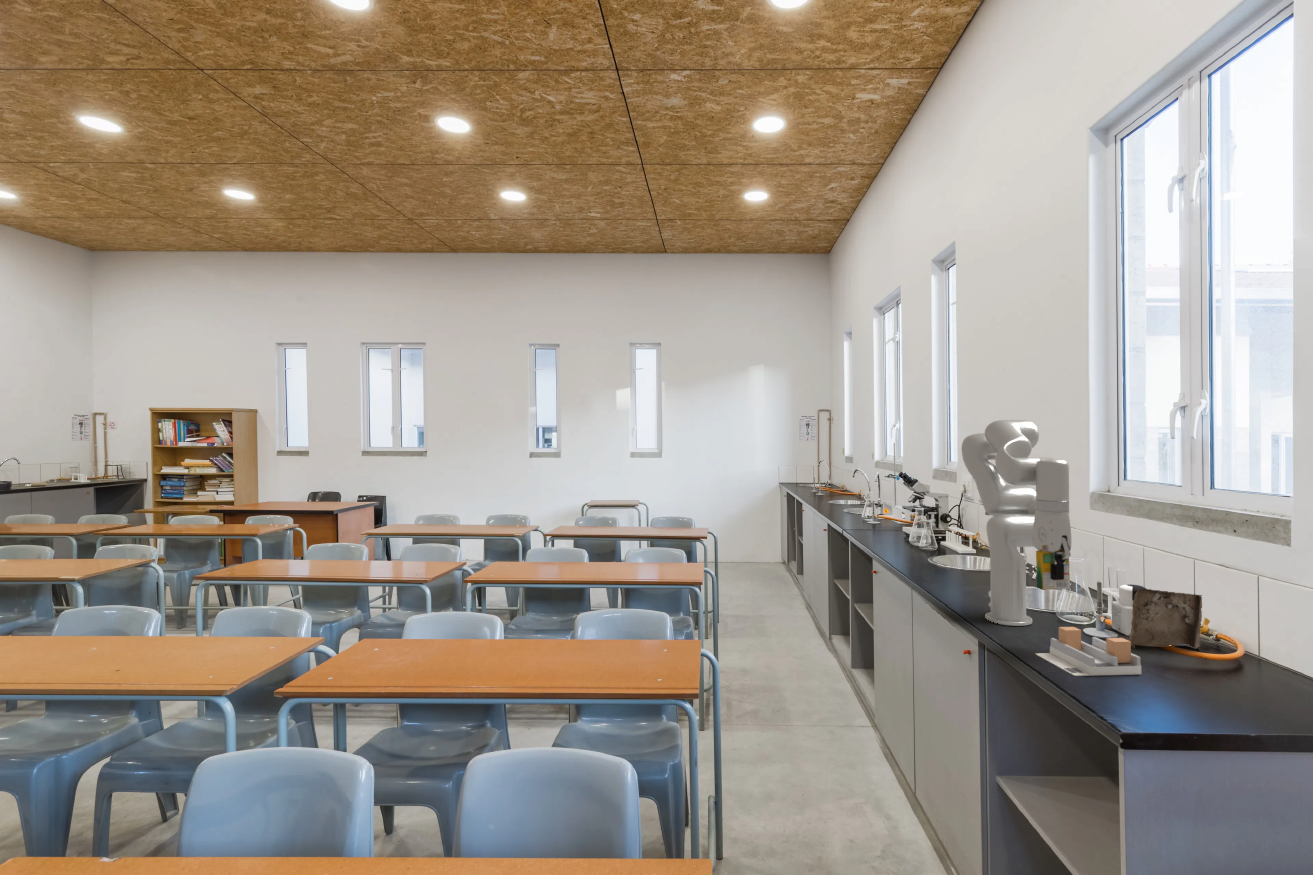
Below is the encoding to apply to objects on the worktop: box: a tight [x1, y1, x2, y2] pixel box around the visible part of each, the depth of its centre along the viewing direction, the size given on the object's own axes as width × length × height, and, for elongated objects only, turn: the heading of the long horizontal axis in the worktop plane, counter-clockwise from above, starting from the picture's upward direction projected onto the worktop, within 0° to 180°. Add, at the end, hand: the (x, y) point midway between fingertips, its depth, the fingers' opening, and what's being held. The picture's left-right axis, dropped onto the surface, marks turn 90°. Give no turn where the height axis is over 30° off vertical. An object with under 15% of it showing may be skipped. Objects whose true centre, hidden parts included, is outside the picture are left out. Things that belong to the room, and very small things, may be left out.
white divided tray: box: [1035, 636, 1142, 677], centre depth 172 cm, size 16×16×4 cm
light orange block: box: [1105, 637, 1132, 663], centre depth 167 cm, size 3×4×5 cm
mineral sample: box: [1127, 588, 1203, 649], centre depth 184 cm, size 17×4×15 cm, turn 81°
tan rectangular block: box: [1058, 626, 1082, 650], centre depth 177 cm, size 3×4×5 cm
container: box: [1111, 583, 1147, 637], centre depth 198 cm, size 8×8×13 cm
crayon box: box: [1035, 545, 1071, 591], centre depth 184 cm, size 7×3×12 cm, turn 92°
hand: (1053, 577), depth 184 cm, fingers closed on crayon box, 3 cm apart
